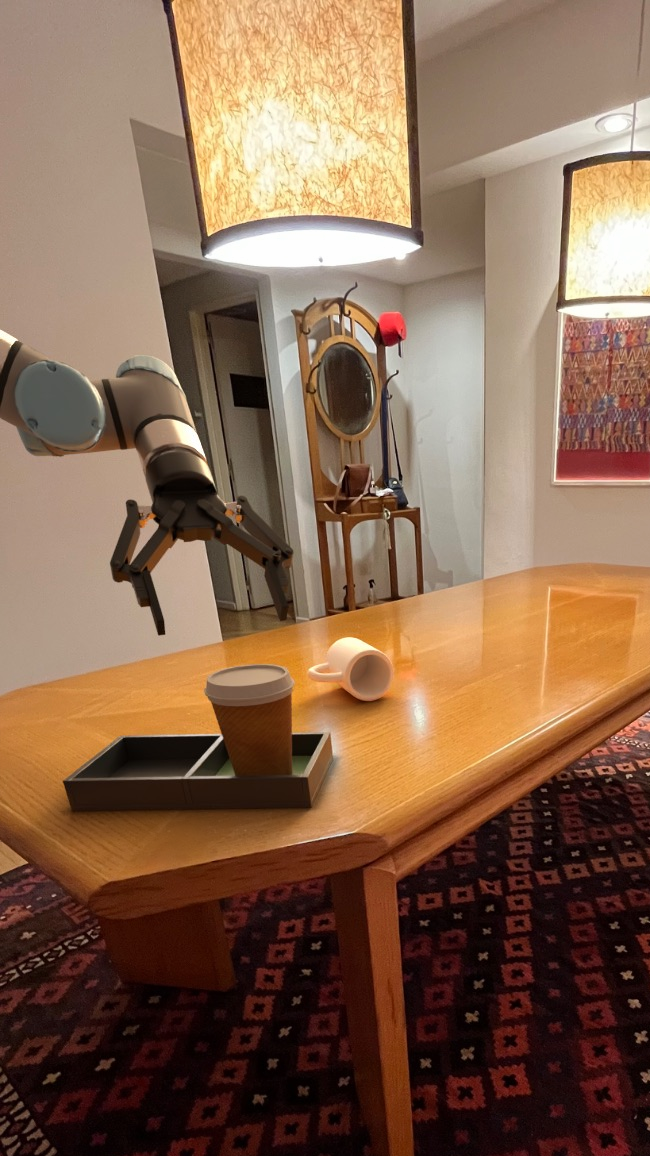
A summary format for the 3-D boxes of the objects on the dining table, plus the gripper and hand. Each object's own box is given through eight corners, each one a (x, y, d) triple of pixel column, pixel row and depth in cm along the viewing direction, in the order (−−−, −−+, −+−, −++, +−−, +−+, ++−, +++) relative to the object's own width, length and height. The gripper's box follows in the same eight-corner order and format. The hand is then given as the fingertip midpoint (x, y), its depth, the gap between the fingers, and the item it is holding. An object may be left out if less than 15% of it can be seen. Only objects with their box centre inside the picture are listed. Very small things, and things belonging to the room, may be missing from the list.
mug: (372, 681, 114) (369, 634, 110) (396, 696, 106) (392, 646, 102) (303, 692, 109) (297, 643, 106) (322, 709, 101) (316, 657, 98)
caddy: (71, 811, 73) (62, 780, 71) (127, 762, 85) (120, 735, 83) (311, 807, 72) (307, 777, 70) (333, 758, 84) (330, 731, 82)
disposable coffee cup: (319, 762, 81) (307, 664, 76) (284, 797, 73) (267, 689, 67) (247, 757, 83) (230, 661, 78) (205, 790, 75) (183, 685, 69)
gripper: (276, 493, 90) (325, 626, 84) (67, 501, 79) (108, 654, 74) (282, 446, 83) (335, 588, 78) (55, 448, 73) (99, 612, 67)
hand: (225, 621), depth 76 cm, fingers open, 13 cm apart
